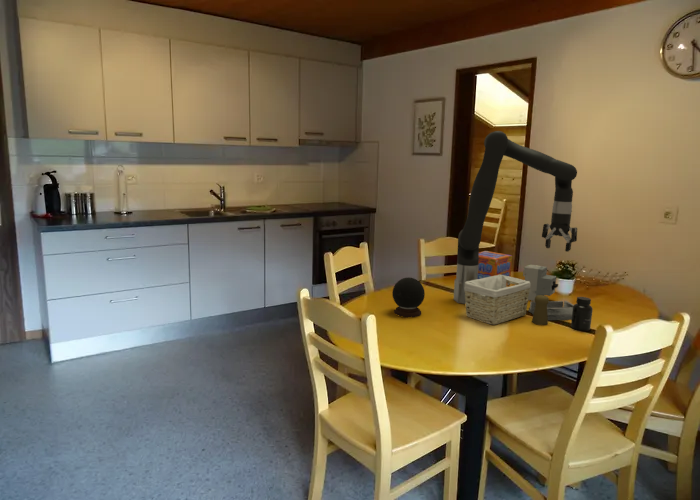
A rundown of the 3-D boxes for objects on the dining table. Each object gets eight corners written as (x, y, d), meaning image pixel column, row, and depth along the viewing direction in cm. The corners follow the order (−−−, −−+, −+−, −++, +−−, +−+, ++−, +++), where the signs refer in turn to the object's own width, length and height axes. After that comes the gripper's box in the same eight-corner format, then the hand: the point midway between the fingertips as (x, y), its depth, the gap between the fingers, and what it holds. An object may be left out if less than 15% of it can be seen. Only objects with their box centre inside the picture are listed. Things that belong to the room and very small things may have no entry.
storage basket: (492, 327, 191) (495, 290, 188) (460, 316, 204) (462, 281, 201) (529, 316, 205) (533, 281, 202) (497, 306, 218) (499, 273, 215)
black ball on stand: (398, 306, 215) (399, 272, 212) (427, 311, 209) (429, 276, 206) (386, 315, 203) (388, 279, 200) (417, 320, 198) (419, 283, 195)
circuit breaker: (553, 304, 221) (556, 271, 218) (521, 298, 230) (523, 267, 227) (557, 300, 227) (561, 268, 224) (526, 295, 236) (529, 264, 233)
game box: (510, 285, 254) (512, 255, 251) (493, 290, 243) (495, 259, 240) (483, 279, 265) (485, 250, 262) (466, 284, 255) (468, 254, 252)
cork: (531, 323, 195) (533, 296, 193) (532, 319, 201) (534, 292, 199) (547, 326, 193) (550, 298, 191) (548, 321, 199) (550, 294, 196)
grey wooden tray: (542, 320, 200) (543, 309, 199) (528, 311, 211) (529, 300, 210) (580, 319, 201) (581, 308, 201) (564, 310, 213) (565, 300, 212)
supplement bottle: (589, 332, 186) (592, 301, 184) (569, 329, 190) (572, 298, 188) (591, 327, 192) (594, 297, 190) (572, 324, 196) (575, 294, 193)
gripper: (541, 210, 214) (537, 247, 217) (574, 214, 203) (569, 253, 206) (550, 209, 218) (546, 246, 222) (582, 213, 208) (578, 251, 211)
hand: (557, 249), depth 214 cm, fingers open, 8 cm apart
